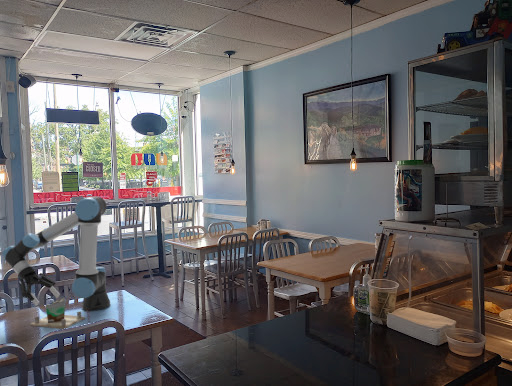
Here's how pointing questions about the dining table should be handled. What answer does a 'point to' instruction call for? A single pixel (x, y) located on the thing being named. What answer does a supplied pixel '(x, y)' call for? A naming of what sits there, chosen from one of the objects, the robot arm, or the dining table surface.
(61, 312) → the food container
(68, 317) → the pin plate
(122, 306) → the dining table surface
